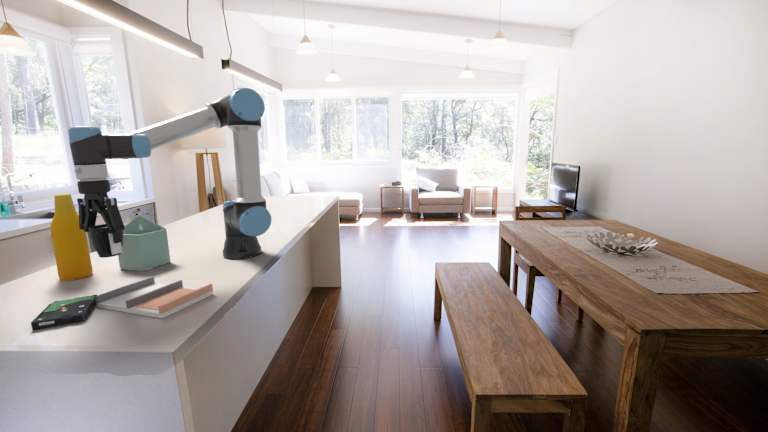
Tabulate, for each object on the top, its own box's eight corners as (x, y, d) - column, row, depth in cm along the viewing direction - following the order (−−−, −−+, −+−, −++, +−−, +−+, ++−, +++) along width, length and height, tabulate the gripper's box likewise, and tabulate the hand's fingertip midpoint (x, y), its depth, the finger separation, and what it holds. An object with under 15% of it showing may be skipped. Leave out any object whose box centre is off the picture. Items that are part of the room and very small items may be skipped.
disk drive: (86, 323, 92) (99, 302, 105) (84, 313, 91) (97, 293, 104) (32, 333, 87) (52, 310, 100) (30, 322, 87) (50, 300, 100)
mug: (84, 263, 105) (78, 231, 103) (99, 253, 116) (93, 224, 114) (118, 259, 108) (113, 228, 106) (129, 250, 119) (124, 221, 117)
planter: (116, 274, 129) (107, 220, 125) (120, 268, 136) (112, 217, 132) (169, 267, 136) (162, 215, 133) (170, 262, 143) (164, 213, 140)
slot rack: (153, 286, 116) (152, 276, 116) (213, 294, 108) (212, 284, 108) (96, 307, 100) (95, 296, 100) (162, 318, 92) (160, 306, 92)
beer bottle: (82, 271, 134) (69, 193, 129) (99, 273, 130) (86, 193, 126) (52, 279, 125) (37, 196, 120) (70, 282, 122) (55, 196, 117)
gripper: (54, 181, 108) (68, 253, 112) (105, 180, 101) (118, 258, 105) (82, 178, 115) (94, 247, 119) (131, 178, 108) (143, 251, 112)
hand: (106, 252), depth 112 cm, fingers closed on mug, 9 cm apart
